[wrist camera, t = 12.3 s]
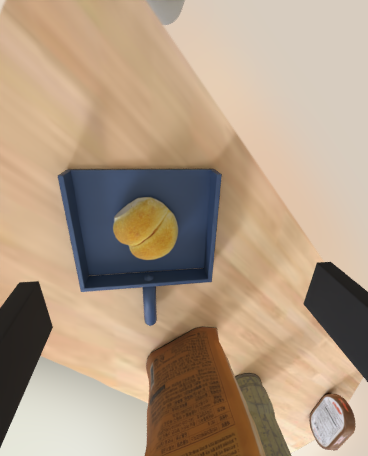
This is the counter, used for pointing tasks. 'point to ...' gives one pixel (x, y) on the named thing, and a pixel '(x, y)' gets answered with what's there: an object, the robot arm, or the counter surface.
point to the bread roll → (146, 228)
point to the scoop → (120, 253)
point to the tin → (332, 422)
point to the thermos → (262, 415)
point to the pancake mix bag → (197, 401)
